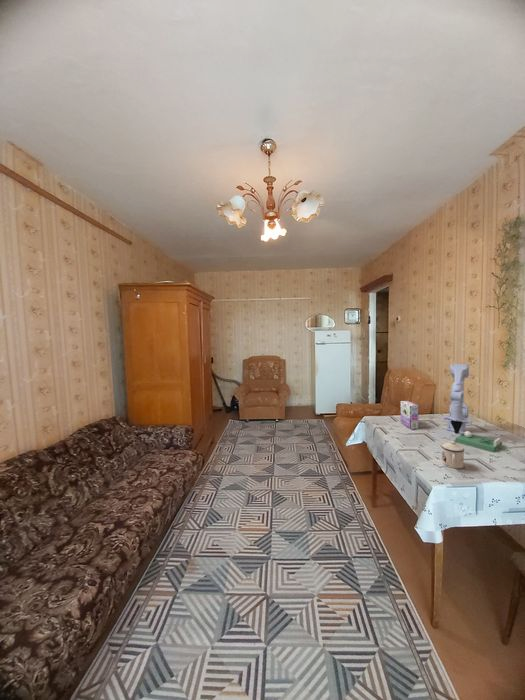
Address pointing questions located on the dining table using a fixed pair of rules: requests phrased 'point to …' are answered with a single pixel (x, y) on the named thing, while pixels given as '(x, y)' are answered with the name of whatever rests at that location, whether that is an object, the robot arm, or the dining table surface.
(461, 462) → the teacup with lid
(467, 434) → the ball
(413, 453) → the dining table surface
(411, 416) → the candy box
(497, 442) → the green
